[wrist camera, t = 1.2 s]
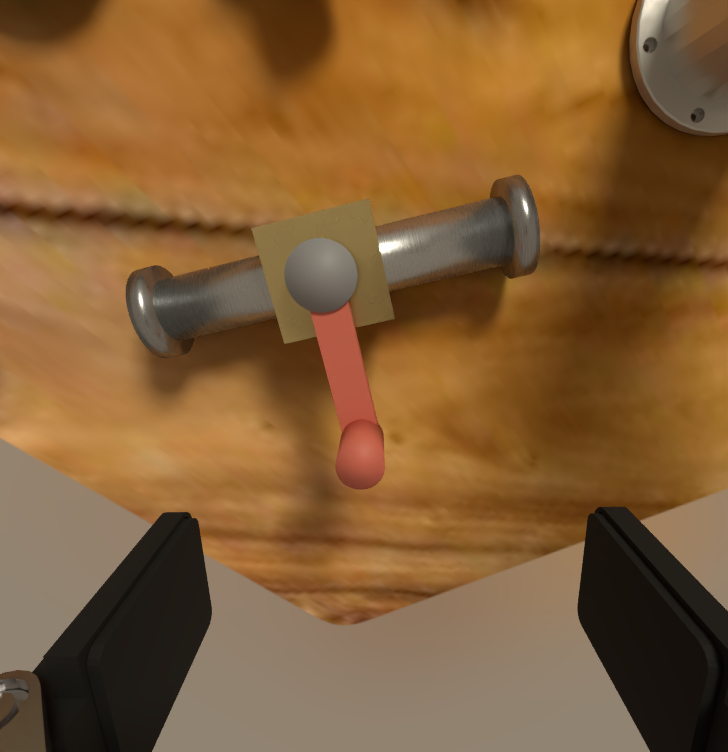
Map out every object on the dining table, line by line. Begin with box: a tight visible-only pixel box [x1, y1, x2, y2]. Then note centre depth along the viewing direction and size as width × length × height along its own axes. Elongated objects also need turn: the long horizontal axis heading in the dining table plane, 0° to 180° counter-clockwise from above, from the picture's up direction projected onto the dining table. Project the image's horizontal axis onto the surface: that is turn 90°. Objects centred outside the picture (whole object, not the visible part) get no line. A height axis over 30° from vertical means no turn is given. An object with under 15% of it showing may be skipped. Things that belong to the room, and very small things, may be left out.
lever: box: [284, 238, 385, 489], centre depth 24 cm, size 13×4×5 cm, turn 13°
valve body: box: [126, 175, 540, 358], centre depth 29 cm, size 26×7×8 cm, turn 103°
